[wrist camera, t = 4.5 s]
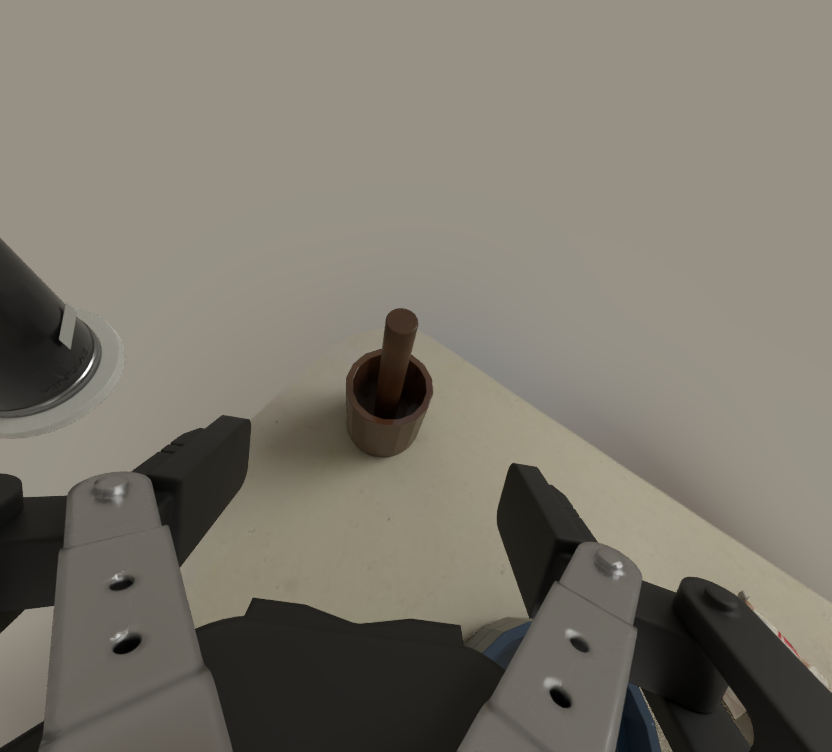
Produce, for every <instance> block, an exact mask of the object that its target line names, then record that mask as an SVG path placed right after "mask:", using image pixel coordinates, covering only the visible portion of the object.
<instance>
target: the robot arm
mask: <svg viewBox="0 0 832 752" xmlns="http://www.w3.org/2000/svg"><path fill="white" fill-rule="evenodd" d="M101 357H102V347H101V343H100V340H99V338H98V337H97V335H96V334H95V333H94V331H93V330H92V329H91V328H90V327H89V326H88V325H87V324H86V323H84V322H83V321H82V320H80V319H79V318H78V317H77V312H76V311H75V310H74V309H73V308H72V307H71V306H70V305H69V304H68V303H67V302H66V304H64V303H63V302H62V300H61V299H59V297H58V296H57V295H56V294H55V293H54V292H53V291H52V290H51V289H50V288H49V287H48V286H47V285H46V284H45V283H44V282H43V281H42V280H41V279H40V278H39V277H38V276H37V275H36V274H35V273H34V272H33V271H32V270H31V269H30V268H29V267H28V266H27V265H26V264H25V263H24V262H23V261H22V260H21V259H20V258H19V257H18V256H17V254H16V253H14V252H13V250H12V249H11V248H10V247H9V246H8V245H7V244H6V243H5V242H4V241H3V240H2V239H1V238H0V417H1V418H18V417H26V416H31V415H35V414H39V413H42V412H45V411H47V410H50V409H52V408H55V407H57V406H59V405H61V404H62V403H64V402H66V401H68V400H69V399H71V398H72V397H74V396H75V395H76V394H78V393H79V392H80V391H81V390H82V389H83V388H84V387H85V386H86V385H87V384H88V383H89V382H90V381H91V379H92V378H93V376H94V375H95V373H96V371H97V370H98V367H99V365H100V362H101ZM250 435H251V422H250V420H249V419H243V418H237V417H232V416H225V415H222V416H221V417H219V418H218V419H217V420H216V421H214V422H213V423H212V424H210V425H209V426H208V427H207V428H205V429H203V428H198V429H196V430H193V431H190V432H187V433H184V434H182V435H181V436H179V437H178V438H177V439H175V440H174V441H172V442H171V444H170V445H167V446H166V447H164V448H163V449H162V450H161V452H157V453H156V454H155V455H154V456H152V457H151V458H149V459H148V460H146V461H145V462H144V463H142V464H141V465H140V466H138V467H137V468H136V469H134V470H133V471H132V472H112V473H105V474H101V475H97V476H94V477H91V478H88V479H86V480H83V481H82V482H80V483H78V484H76V485H75V486H74V487H73V488H72V489H71V490H70V491H69V492H68V495H67V496H49V497H23V491H22V482H21V480H20V479H19V478H17V477H15V476H12V475H8V474H0V633H1V632H2V631H3V630H4V629H5V628H6V627H7V626H8V625H10V623H11V622H13V621H14V619H16V618H17V617H18V616H19V615H20V614H21V613H22V612H23V611H24V610H25V609H32V608H40V607H48V606H54V615H53V626H52V637H51V649H50V661H49V673H48V684H47V695H46V707H45V719H44V721H43V722H41V723H39V724H38V725H36V726H35V727H33V728H31V729H30V730H28V731H27V732H25V733H23V734H22V735H20V736H19V737H17V738H15V739H14V740H12V741H11V742H9V743H7V744H6V745H4V746H2V747H1V748H0V752H615V749H616V744H617V739H618V733H619V728H620V723H621V717H622V712H623V706H624V701H625V696H626V690H627V685H628V682H629V683H631V684H634V685H636V686H638V687H641V689H642V691H643V693H644V695H645V697H646V699H647V701H648V703H649V705H650V707H651V709H652V711H653V713H654V715H655V717H656V719H657V721H658V723H659V725H660V727H661V729H662V731H663V733H664V735H665V737H666V739H667V741H668V743H669V745H670V747H671V749H672V751H673V752H832V693H831V692H830V691H829V690H828V689H827V688H826V687H825V686H824V685H823V684H822V683H821V682H820V681H819V679H818V678H817V677H816V676H815V675H814V674H813V673H812V672H811V671H810V670H809V669H808V668H807V667H806V666H805V665H804V664H803V663H802V662H801V661H800V660H799V659H798V657H797V656H796V655H795V654H794V653H793V652H792V651H791V650H790V649H789V648H788V647H787V646H786V645H785V644H784V643H783V642H782V641H781V640H780V639H779V638H778V636H777V635H776V634H775V633H774V632H773V631H772V630H771V629H770V628H769V627H768V626H767V625H766V624H765V623H764V622H763V621H762V620H761V619H760V618H759V617H758V616H757V614H756V613H755V612H754V611H753V610H752V609H751V608H750V607H749V606H748V605H747V604H746V603H744V602H743V601H742V600H741V599H740V598H738V597H737V596H736V595H734V594H733V593H731V592H730V591H728V590H726V589H725V588H723V587H721V586H719V585H717V584H715V583H713V582H710V581H708V580H705V579H701V578H697V577H686V578H684V579H682V581H681V583H680V585H679V588H678V590H677V592H673V591H670V590H667V589H665V588H662V587H659V586H656V585H653V584H651V583H648V582H645V581H643V580H642V574H641V572H640V570H639V569H638V567H637V566H636V565H635V564H634V563H633V562H632V561H631V560H630V559H629V558H628V557H626V556H625V555H624V554H622V553H621V552H619V551H617V550H615V549H614V548H611V547H609V546H607V545H604V544H601V543H598V542H597V540H596V539H595V538H594V536H593V535H592V533H591V532H590V530H589V529H588V527H587V526H586V525H585V523H584V522H583V520H582V519H581V518H579V515H578V513H577V512H576V510H575V509H573V506H572V505H571V503H570V502H569V500H568V499H567V497H566V496H565V495H564V494H563V493H561V492H560V491H559V490H558V489H556V488H555V487H554V486H553V485H549V484H548V483H547V481H546V480H545V478H544V476H543V475H542V473H541V472H540V470H539V469H538V468H537V467H534V466H528V465H522V464H516V463H512V464H511V465H510V467H509V469H508V473H507V476H506V480H505V484H504V487H503V491H502V494H501V498H500V502H499V505H498V510H497V526H498V530H499V533H500V535H501V538H502V541H503V544H504V547H505V550H506V553H507V556H508V558H509V561H510V564H511V567H512V570H513V573H514V576H515V578H516V581H517V584H518V587H519V590H520V593H521V596H522V599H523V601H524V604H525V607H526V610H527V613H528V616H529V619H533V622H532V624H531V625H530V627H529V629H528V631H527V633H526V635H525V636H524V638H523V640H522V642H521V644H520V645H519V647H518V649H517V651H516V653H515V655H514V656H513V658H512V660H511V662H510V664H509V666H508V667H507V669H506V670H505V669H503V668H502V667H501V666H500V665H498V664H497V663H496V662H495V661H493V660H492V659H490V658H489V657H487V656H486V655H484V654H482V653H481V652H479V651H477V650H475V649H473V648H471V647H469V646H466V645H464V644H463V639H462V632H461V626H460V625H454V624H447V623H439V622H432V621H424V620H417V619H403V620H394V621H384V622H374V623H364V624H357V623H352V622H349V621H347V620H344V619H342V618H339V617H336V616H334V615H331V614H328V613H326V612H323V611H321V610H318V609H315V608H313V607H310V606H307V605H304V604H296V603H289V602H281V601H274V600H266V599H259V598H253V599H252V601H251V603H250V605H249V607H248V609H247V611H246V613H245V615H244V616H238V617H232V618H227V619H222V620H219V621H216V622H212V623H209V624H206V625H204V626H201V627H199V628H196V629H195V628H194V624H193V620H192V616H191V612H190V608H189V604H188V600H187V596H186V592H185V588H184V584H183V580H182V576H181V572H180V567H181V566H182V564H183V563H184V562H185V560H186V559H187V558H188V556H189V555H190V554H191V552H192V551H193V550H194V549H195V547H196V546H197V545H198V543H199V542H200V541H201V539H202V538H203V537H204V535H205V534H206V533H207V532H208V530H209V529H210V528H211V526H212V525H213V524H214V522H215V521H216V520H217V518H218V517H219V516H220V515H221V513H222V512H223V511H224V509H225V508H226V507H227V505H228V504H229V503H230V501H231V500H232V499H233V498H234V496H235V495H236V494H237V492H238V491H239V490H240V488H241V487H242V485H243V483H244V480H245V477H246V474H247V469H248V459H249V447H250ZM728 686H729V687H730V688H731V690H732V691H733V692H734V694H735V695H736V696H737V698H738V699H739V701H740V702H741V703H742V705H743V706H744V708H745V709H746V711H747V713H748V715H749V717H750V719H751V722H752V725H753V730H754V742H753V745H752V747H751V746H750V745H749V743H748V742H747V741H746V739H745V738H744V736H743V735H742V733H741V732H740V730H739V729H738V727H737V726H736V724H735V723H734V721H733V720H732V718H731V717H730V715H729V714H728V712H727V711H726V709H725V708H724V706H723V705H722V703H721V700H722V698H723V696H724V694H725V692H726V690H727V688H728Z"/></svg>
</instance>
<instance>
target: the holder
mask: <svg viewBox="0 0 832 752" xmlns="http://www.w3.org/2000/svg"><path fill="white" fill-rule="evenodd" d="M381 353H382V349H379V350H376V351H373V352H370V353H367V354H365V355H364V356H362V357H361V358H360V359H359V360H357V361H356V362H355V363H354V364H353V365H352V367H351V369H350V371H349V373H348V375H347V378H346V412H347V428H348V433H349V435H350V437H351V439H352V441H353V442H354V444H355V445H356V446H357V447H358V448H359V449H361V450H362V451H364V452H365V453H367V454H370V455H373V456H377V457H390V456H394V455H397V454H399V453H401V452H403V451H404V450H406V449H407V448H408V447H409V446H410V445H411V444H412V443H413V441H414V440H415V438H416V436H417V434H418V431H419V429H420V426H421V424H422V421H423V419H424V417H425V414H426V412H427V409H428V407H429V404H430V401H431V398H432V396H433V386H432V379H431V376H430V374H429V373H428V371H427V369H426V367H425V366H424V364H422V363H421V362H420V361H419V360H418V359H416V358H415V357H414V356H413V355H411V356H410V360H409V364H408V368H407V372H406V376H405V380H404V384H403V388H402V392H401V396H400V400H399V404H398V408H397V412H396V416H395V419H382V418H379V417H376V416H374V408H375V401H376V393H377V385H378V377H379V369H380V361H381Z"/></svg>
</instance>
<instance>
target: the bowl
mask: <svg viewBox="0 0 832 752" xmlns="http://www.w3.org/2000/svg"><path fill="white" fill-rule="evenodd" d="M532 622H533V619H529V618H511V617H507V618H504V619H501V620H499V621H496V622H494V623H491V624H489V625H486V626H484V627H482V628H481V629H480V630H479V631H478V632H477V633H476V634H475V635H474V636H473V637H471V638H470V639H469V640H468V641H467V642H466V643H465V644H464V645H466V646H469V647H471V648H473V649H475V650H477V651H479V652H481V653H482V654H484V655H486V656H487V657H489V658H490V659H492V660H493V661H495V662H496V663H497V664H498V665H500V666H501V667H502V668H503V669H505V670H506V669H507V667H508V666H509V664H510V662H511V660H512V658H513V656H514V655H515V653H516V651H517V649H518V647H519V645H520V644H521V642H522V640H523V638H524V636H525V635H526V633H527V631H528V629H529V627H530V625H531V624H532ZM615 752H661V749H660V744H659V740H658V735H657V731H656V726H655V722H654V720H653V718H652V715H651V713H650V711H649V709H648V707H647V704H646V702H645V700H644V698H643V696H642V693H641V691H640V689H639V687H638V686H636V685H634V684H631V683H629V682H628V685H627V690H626V696H625V701H624V706H623V712H622V717H621V723H620V728H619V733H618V739H617V744H616V749H615Z"/></svg>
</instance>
